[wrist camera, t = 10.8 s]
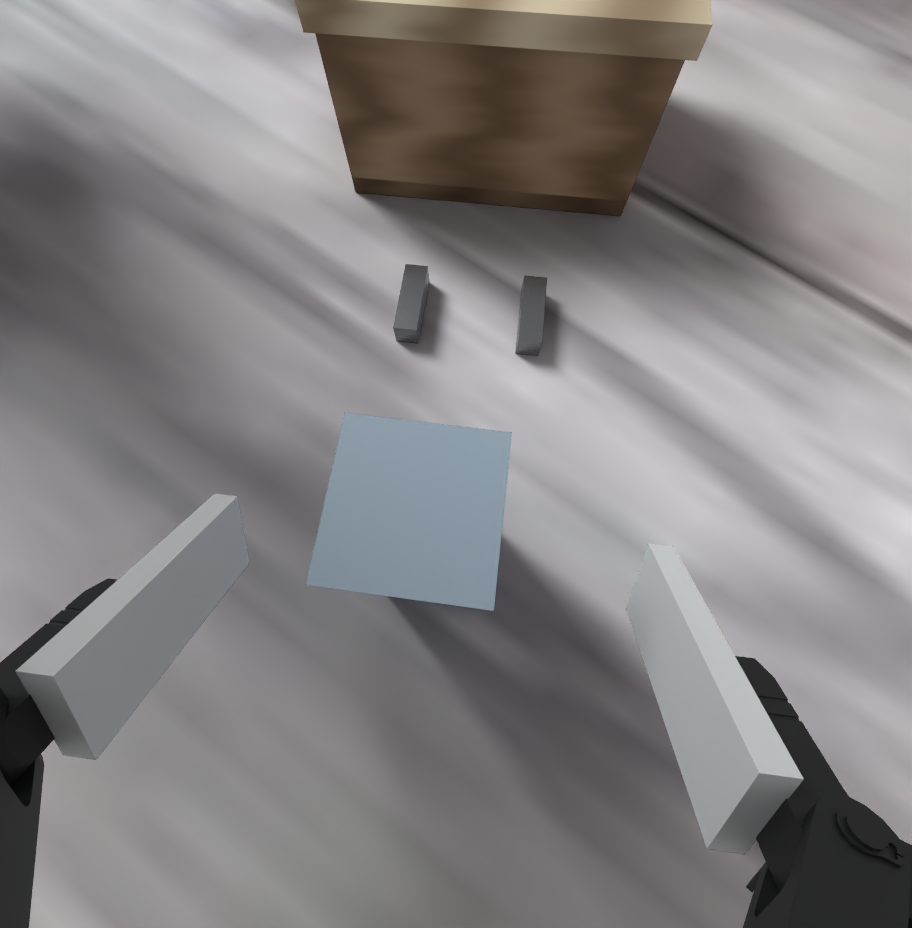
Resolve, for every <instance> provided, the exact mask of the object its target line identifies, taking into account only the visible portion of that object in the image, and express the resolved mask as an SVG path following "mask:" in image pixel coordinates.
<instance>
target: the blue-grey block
mask: <svg viewBox="0 0 912 928" xmlns="http://www.w3.org/2000/svg"><path fill="white" fill-rule="evenodd" d="M511 435H512V432H503V431H495V430H486V429H478V428H469V427H461V426H453V425H444V424H436V423H427V422H419V421H410V420H402V419H394V418H385V417H377V416H368V415H360V414H352V413H344V417H343V422H342V426H341V430H340V435H339V439H338V444H337V448H336V452H335V457H334V461H333V466H332V470H331V474H330V479H329V483H328V488H327V492H326V497H325V501H324V505H323V510H322V514H321V519H320V523H319V527H318V532H317V536H316V541H315V545H314V549H313V554H312V558H311V563H310V567H309V571H308V576H307V580H306V585H310V586H318V587H325V588H332V589H339V590H347V591H354V592H361V593H368V594H375V595H383V596H390V597H397V598H404V599H411V600H419V601H426V602H433V603H440V604H447V605H455V606H462V607H469V608H476V609H484V610H491V611H494V604H495V594H496V584H497V574H498V564H499V554H500V544H501V534H502V524H503V514H504V504H505V494H506V485H507V475H508V465H509V455H510V445H511Z"/></svg>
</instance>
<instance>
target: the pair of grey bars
mask: <svg viewBox="0 0 912 928" xmlns="http://www.w3.org/2000/svg"><path fill="white" fill-rule="evenodd" d="M546 285H547V278H544V277H534V276H524V281H523V286H522V291H521V301H520V312H519V322H518V332H517V342H516V353H517V354H527V355H536V356H538V354H539V351H540V348H541V345H542V337H543V324H544V311H545V298H546ZM428 286H429V274H428V266H419V265H409V264H406V266H405V271H404V276H403V281H402V286H401V291H400V296H399V301H398V306H397V311H396V317H395V322H394V327H393V328H394V332H395V336H396V341H403V342H412V343H419V338H420V332H421V327H422V321H423V315H424V309H425V304H426V298H427V292H428Z"/></svg>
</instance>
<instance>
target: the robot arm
mask: <svg viewBox="0 0 912 928" xmlns="http://www.w3.org/2000/svg"><path fill="white" fill-rule="evenodd" d="M248 564H249V558H248V553H247V547H246V541H245V536H244V530H243V525H242V519H241V513H240V508H239V502H238V496H231V495H222V494H214V495H212V496H211V497H210V498H209V499H208V500H207V501H206V502H205V503H203V504H202V505H201V506H200V507H199V508H198V509H197V510H196V511H194V512H193V513H192V514H191V515H190V516H189V517H188V518H187V519H185V520H184V521H183V522H182V523H181V524H180V525H179V526H178V527H176V528H175V529H174V530H173V531H172V532H171V533H170V534H169V535H168V536H166V537H165V538H164V539H163V540H162V541H161V542H160V543H159V544H157V545H156V546H155V547H154V548H153V549H152V550H151V551H150V552H148V553H147V554H146V555H145V556H144V557H143V558H142V559H141V560H139V561H138V562H137V563H136V564H135V565H134V566H133V567H132V568H130V569H129V570H128V571H127V572H126V573H125V574H124V575H123V576H121V577H120V578H119V579H118V580H115V579H106V580H105V581H103V582H101V583H99V584H97V585H95V586H93V587H92V588H90V589H88V590H86V591H84V592H83V593H82V594H81V595H80V596H78V597H77V598H76V599H75V600H74V601H72V602H71V603H70V604H69V605H68V606H67V607H66V609H65V610H64V611H63V610H62V611H61V612H60V613H58V614H57V615H56V616H55V617H54V618H52V619H51V620H50V623H49V624H45V625H44V626H43V627H42V628H41V629H39V630H38V631H37V632H36V633H35V634H34V635H32V636H31V637H30V638H29V639H28V640H26V641H25V642H24V643H23V644H22V645H21V646H19V647H18V648H17V649H16V650H15V651H13V652H12V653H11V654H10V655H9V656H8V657H6V658H5V659H4V660H3V661H2V662H0V928H29V919H30V909H31V898H32V888H33V877H34V867H35V856H36V846H37V835H38V825H39V814H40V803H41V793H42V782H43V772H44V762H43V757H42V755H41V753H42V752H43V751H44V750H45V749H46V747H47V746H48V745H49V744H50V743H51V742H52V741H53V740H55V742H56V744H57V745H58V747H59V749H60V751H61V752H62V754H63V755H65V756H72V757H79V758H86V759H93V760H97V759H98V757H99V756H100V755H101V753H102V752H103V751H104V750H105V748H106V747H107V746H108V744H109V743H110V742H111V741H112V739H113V738H114V737H115V735H116V734H117V733H118V732H119V730H120V729H121V728H122V726H123V725H124V724H125V722H126V721H127V720H128V719H129V717H130V716H131V715H132V713H133V712H134V711H135V710H136V708H137V707H138V706H139V704H140V703H141V702H142V701H143V699H144V698H145V697H146V695H147V694H148V693H149V692H150V690H151V689H152V688H153V686H154V685H155V684H156V683H157V681H158V680H159V679H160V677H161V676H162V675H163V674H164V672H165V671H166V670H167V668H168V667H169V666H170V665H171V663H172V662H173V661H174V659H175V658H176V657H177V655H178V654H179V653H180V652H181V650H182V649H183V648H184V646H185V645H186V644H187V643H188V641H189V640H190V639H191V637H192V636H193V635H194V634H195V632H196V631H197V630H198V628H199V627H200V626H201V625H202V623H203V622H204V621H205V619H206V618H207V617H208V616H209V614H210V613H211V612H212V610H213V609H214V608H215V607H216V605H217V604H218V603H219V601H220V600H221V599H222V598H223V596H224V595H225V594H226V592H227V591H228V590H229V588H230V587H231V586H232V585H233V583H234V582H235V581H236V579H237V578H238V577H239V576H240V574H241V573H242V572H243V570H244V569H245V568H246V567H247V565H248ZM626 610H627V613H628V616H629V619H630V622H631V625H632V628H633V631H634V634H635V637H636V640H637V643H638V646H639V649H640V652H641V655H642V658H643V661H644V664H645V667H646V670H647V672H648V675H649V678H650V681H651V684H652V687H653V690H654V693H655V696H656V699H657V702H658V705H659V708H660V711H661V714H662V717H663V720H664V723H665V726H666V729H667V732H668V735H669V738H670V741H671V744H672V747H673V750H674V753H675V756H676V759H677V761H678V764H679V767H680V770H681V773H682V776H683V779H684V782H685V785H686V788H687V791H688V794H689V797H690V800H691V803H692V806H693V809H694V812H695V815H696V818H697V821H698V824H699V827H700V830H701V833H702V836H703V839H704V842H705V845H706V848H707V849H711V850H718V851H725V852H732V853H739V854H746V853H747V851H748V850H749V849H750V848H751V846H752V845H753V844H754V842H755V841H756V840H757V841H758V844H759V846H760V848H761V851H762V853H763V856H764V858H765V860H766V863H765V864H764V865H763V866H762V867H761V869H760V870H759V871H758V872H757V873H756V875H755V876H754V877H753V878H752V879H751V881H750V882H749V884H748V885H747V886H746V887H747V888H748V889H749V890H750V891H751V892H753V891H754V893H753V896H752V900H751V903H750V906H749V909H748V913H747V916H746V919H745V922H744V926H743V928H912V845H910V844H908V843H906V842H904V841H902V840H900V839H899V838H898V836H897V835H896V834H895V833H894V832H893V831H892V830H891V828H890V827H889V826H888V825H887V824H886V823H885V822H884V820H883V819H881V818H880V817H879V816H878V815H876V814H875V813H874V812H873V811H871V810H870V809H869V808H868V807H866V806H865V805H863V804H861V803H859V802H858V801H856V800H854V799H852V798H850V797H849V796H848V795H847V793H846V792H845V790H844V789H843V787H842V786H841V784H840V783H839V781H838V779H837V778H836V776H835V775H834V773H833V771H832V770H831V768H830V766H829V765H828V763H827V762H826V760H825V758H824V757H823V755H822V754H821V752H820V750H819V749H818V747H817V746H816V744H815V742H814V741H813V739H812V738H811V736H810V734H809V733H808V731H807V729H806V728H805V726H804V725H803V723H802V722H801V721H799V719H798V718H799V717H798V715H797V713H796V712H795V710H794V709H793V707H792V705H791V704H790V703H788V701H787V700H788V699H787V697H786V696H785V694H784V692H783V691H782V689H781V688H780V686H779V684H778V683H777V681H776V680H775V678H774V677H773V676H772V675H771V674H770V673H769V672H768V671H767V670H766V669H765V668H764V667H763V666H762V665H761V664H760V663H759V662H758V661H757V660H756V659H754V658H746V657H738V656H735V655H734V654H733V652H732V650H731V648H730V646H729V645H728V643H727V641H726V639H725V637H724V636H723V634H722V632H721V630H720V628H719V627H718V625H717V623H716V621H715V620H714V618H713V616H712V614H711V612H710V611H709V609H708V607H707V605H706V603H705V602H704V600H703V598H702V596H701V595H700V593H699V591H698V589H697V587H696V586H695V584H694V582H693V580H692V578H691V577H690V575H689V573H688V571H687V570H686V568H685V566H684V564H683V562H682V561H681V559H680V557H679V555H678V553H677V552H676V550H675V548H674V546H666V545H657V544H649V543H648V546H647V549H646V552H645V555H644V558H643V561H642V564H641V567H640V570H639V573H638V575H637V578H636V581H635V584H634V587H633V590H632V593H631V596H630V599H629V602H628V605H627V608H626Z"/></svg>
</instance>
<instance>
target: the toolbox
mask: <svg viewBox="0 0 912 928" xmlns="http://www.w3.org/2000/svg"><path fill="white" fill-rule="evenodd" d="M315 34H316V38H317V42H318V45H319V49H320V53H321V57H322V61H323V65H324V69H325V73H326V77H327V81H328V85H329V89H330V93H331V97H332V101H333V105H334V109H335V112H336V116H337V120H338V124H339V128H340V132H341V136H342V140H343V144H344V148H345V152H346V156H347V160H348V164H349V168H350V172H351V175H352V179H353V183H354V187H355V191H356V192H358V193H369V194H380V195H392V196H403V197H414V198H425V199H436V200H448V201H459V202H470V203H481V204H493V205H504V206H515V207H526V208H538V209H549V210H560V211H571V212H582V213H594V214H605V215H616V216H621V214H622V212H623V209H624V207H625V204H626V202H627V199H628V197H629V195H630V192H631V190H632V187H633V185H634V182H635V180H636V178H637V175H638V173H639V170H640V168H641V165H642V163H643V161H644V158H645V156H646V153H647V151H648V148H649V146H650V144H651V141H652V139H653V136H654V134H655V131H656V129H657V127H658V124H659V122H660V119H661V117H662V114H663V112H664V110H665V107H666V105H667V102H668V100H669V97H670V95H671V93H672V90H673V88H674V85H675V83H676V80H677V78H678V76H679V73H680V71H681V68H682V66H683V64H684V61H685V60H680V59H666V58H652V57H638V56H624V55H610V54H597V53H583V52H569V51H555V50H541V49H527V48H513V47H500V46H486V45H472V44H458V43H444V42H430V41H416V40H403V39H389V38H375V37H361V36H347V35H333V34H319V33H315Z"/></svg>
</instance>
